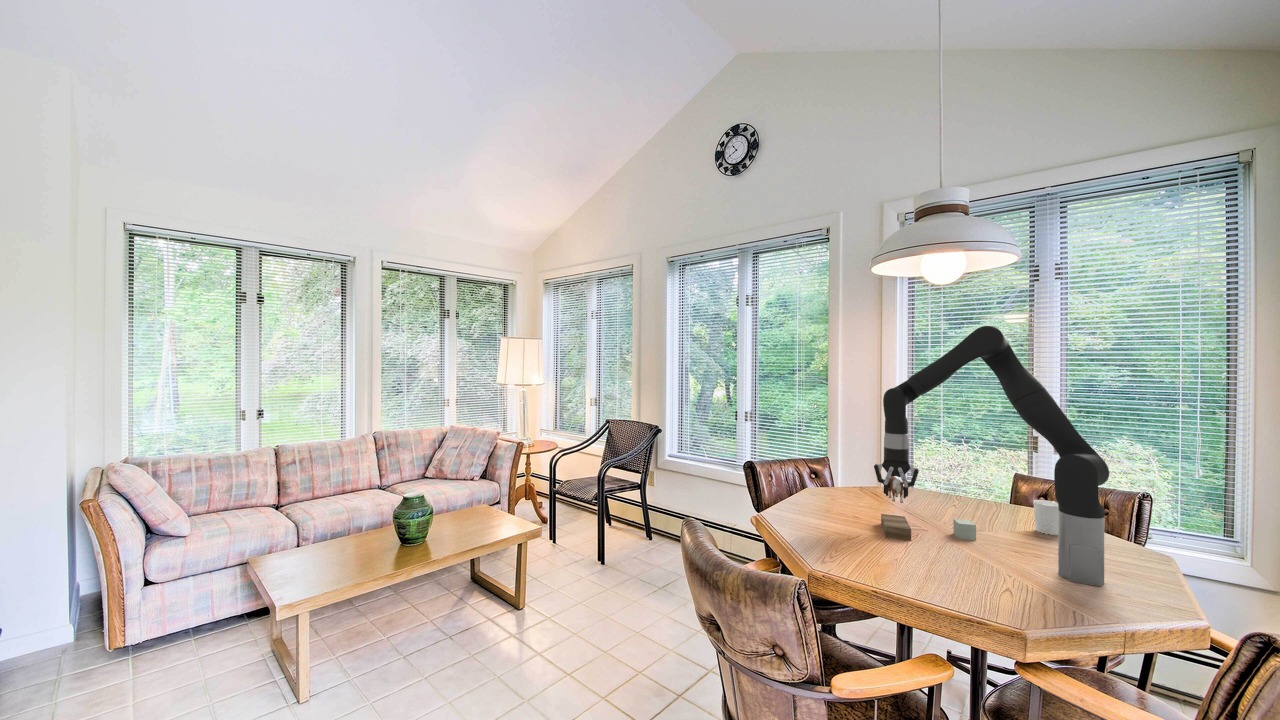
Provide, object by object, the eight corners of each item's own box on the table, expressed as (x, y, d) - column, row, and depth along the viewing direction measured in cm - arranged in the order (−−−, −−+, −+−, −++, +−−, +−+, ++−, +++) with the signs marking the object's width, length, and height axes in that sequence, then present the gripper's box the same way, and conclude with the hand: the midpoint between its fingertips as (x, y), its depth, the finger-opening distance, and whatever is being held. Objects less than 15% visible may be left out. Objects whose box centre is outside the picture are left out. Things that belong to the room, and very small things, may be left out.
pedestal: (911, 541, 160) (911, 529, 160) (885, 538, 163) (885, 526, 163) (904, 527, 174) (904, 516, 174) (881, 525, 177) (881, 513, 177)
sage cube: (976, 540, 161) (976, 525, 161) (958, 538, 162) (958, 523, 163) (970, 535, 166) (970, 520, 166) (953, 533, 167) (953, 519, 167)
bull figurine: (891, 505, 163) (890, 480, 163) (886, 494, 176) (886, 471, 176) (905, 506, 161) (905, 481, 162) (900, 496, 174) (900, 472, 174)
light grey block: (1028, 530, 172) (1028, 501, 172) (1041, 527, 175) (1041, 498, 175) (1055, 537, 164) (1055, 507, 165) (1068, 534, 168) (1068, 504, 168)
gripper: (871, 446, 169) (871, 496, 169) (920, 450, 162) (919, 502, 162) (874, 443, 175) (873, 491, 175) (920, 446, 168) (920, 497, 168)
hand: (895, 496), depth 168 cm, fingers closed on bull figurine, 4 cm apart
